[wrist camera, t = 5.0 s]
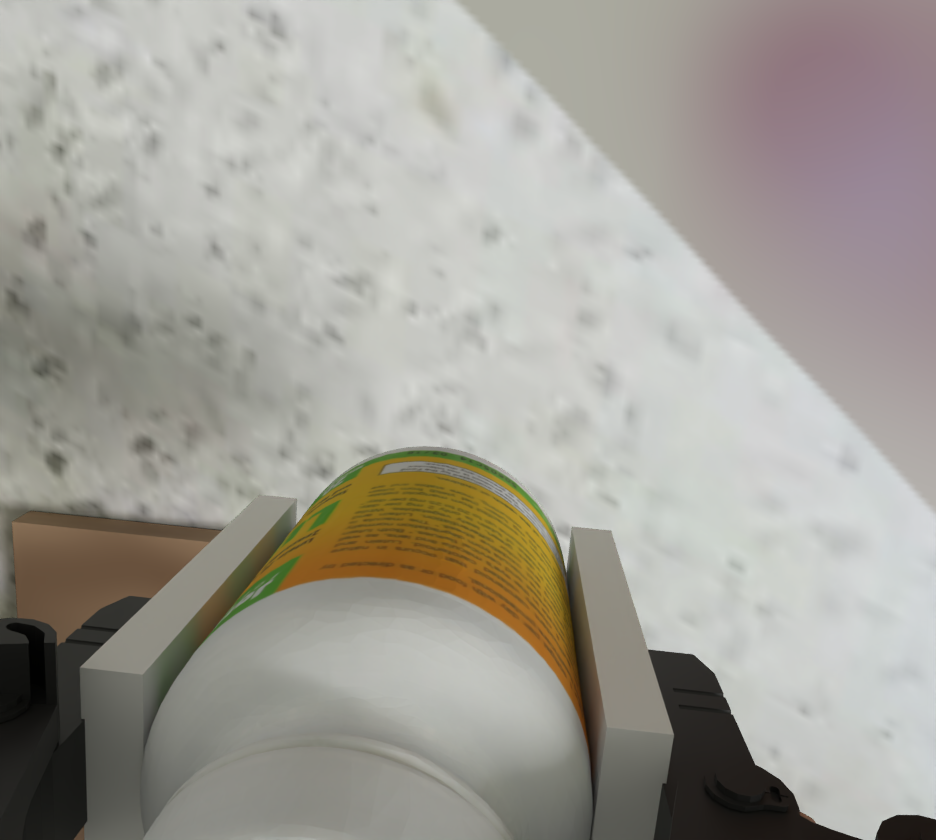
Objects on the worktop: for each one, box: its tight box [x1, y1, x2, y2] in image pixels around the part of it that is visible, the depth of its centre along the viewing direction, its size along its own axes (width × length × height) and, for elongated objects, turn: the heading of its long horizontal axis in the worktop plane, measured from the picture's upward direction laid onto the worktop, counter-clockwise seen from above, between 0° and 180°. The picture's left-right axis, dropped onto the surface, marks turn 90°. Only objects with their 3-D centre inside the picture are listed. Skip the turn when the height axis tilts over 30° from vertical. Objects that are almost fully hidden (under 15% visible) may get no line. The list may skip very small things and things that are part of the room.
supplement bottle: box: [140, 446, 593, 840], centre depth 11 cm, size 5×5×10 cm
